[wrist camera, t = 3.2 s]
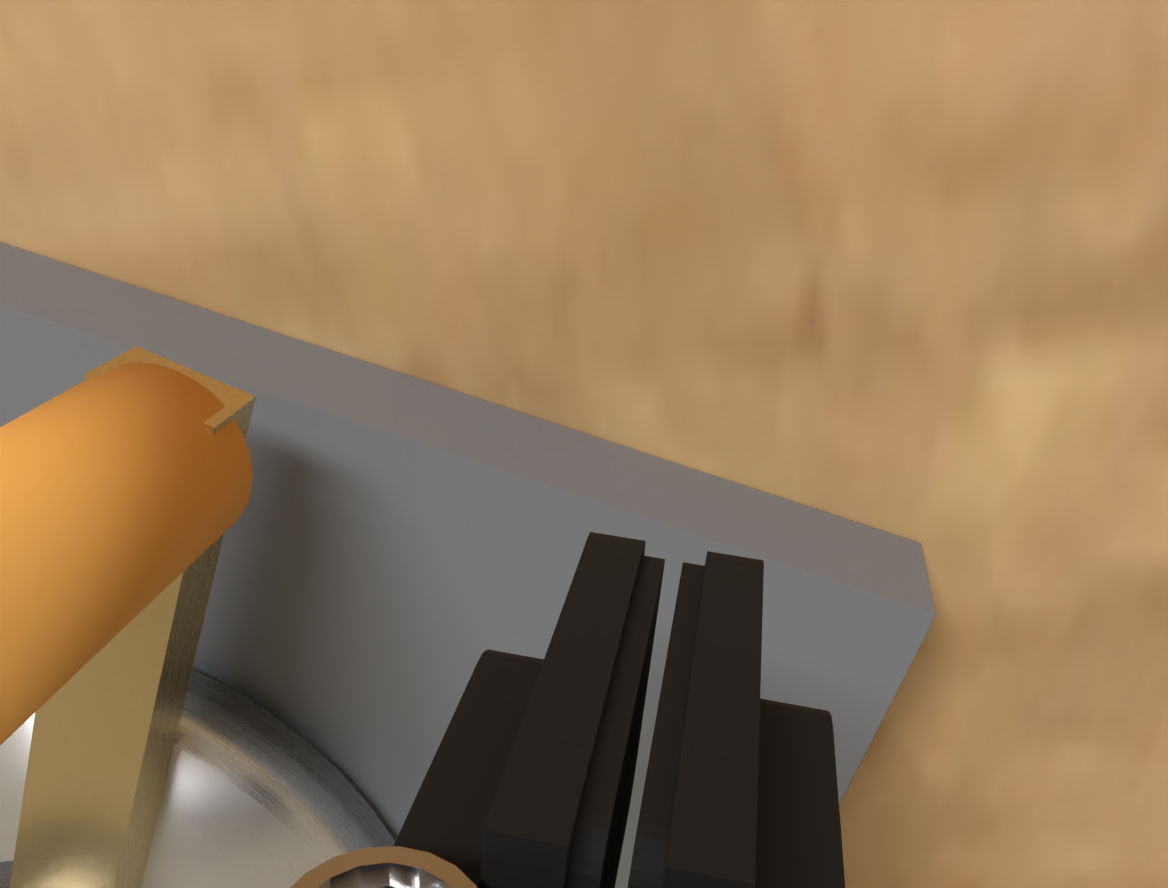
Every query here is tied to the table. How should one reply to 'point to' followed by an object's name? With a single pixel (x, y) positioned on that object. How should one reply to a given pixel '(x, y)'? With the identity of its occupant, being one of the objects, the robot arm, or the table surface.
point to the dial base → (453, 539)
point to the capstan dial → (141, 653)
